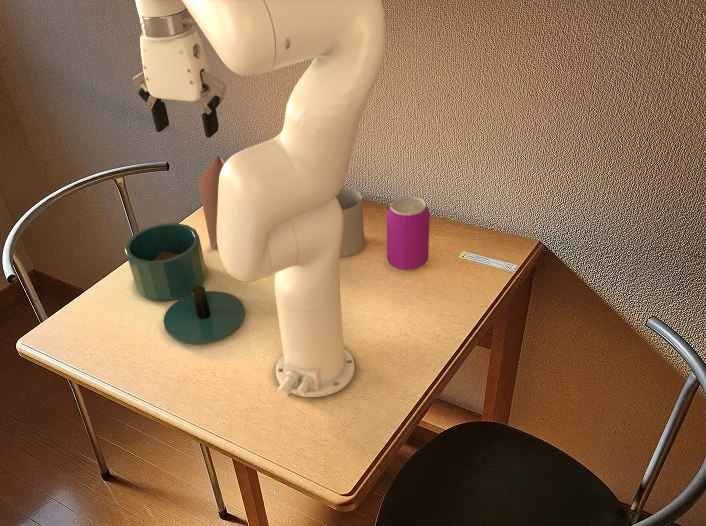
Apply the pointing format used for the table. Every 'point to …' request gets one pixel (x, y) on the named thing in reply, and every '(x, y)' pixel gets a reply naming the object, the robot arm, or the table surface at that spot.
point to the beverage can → (408, 233)
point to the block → (165, 256)
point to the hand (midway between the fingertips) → (187, 131)
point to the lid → (204, 316)
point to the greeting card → (211, 196)
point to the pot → (166, 261)
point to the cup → (351, 221)
